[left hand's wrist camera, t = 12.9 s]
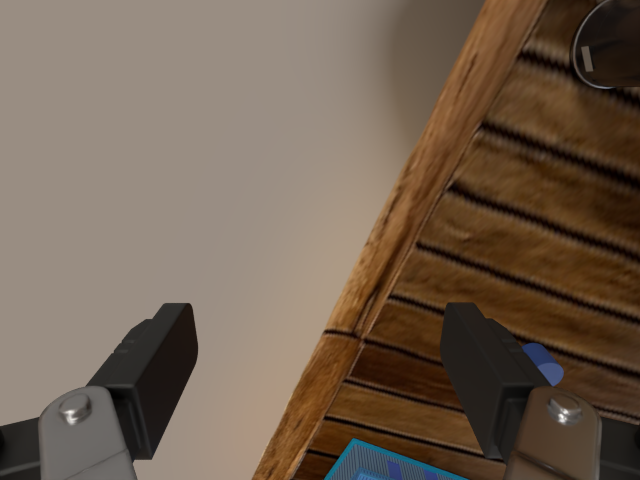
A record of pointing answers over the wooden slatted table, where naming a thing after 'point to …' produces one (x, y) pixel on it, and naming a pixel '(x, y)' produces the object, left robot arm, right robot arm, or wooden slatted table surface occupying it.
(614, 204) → the wooden slatted table surface
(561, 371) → the canister
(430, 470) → the model building
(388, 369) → the wooden slatted table surface
